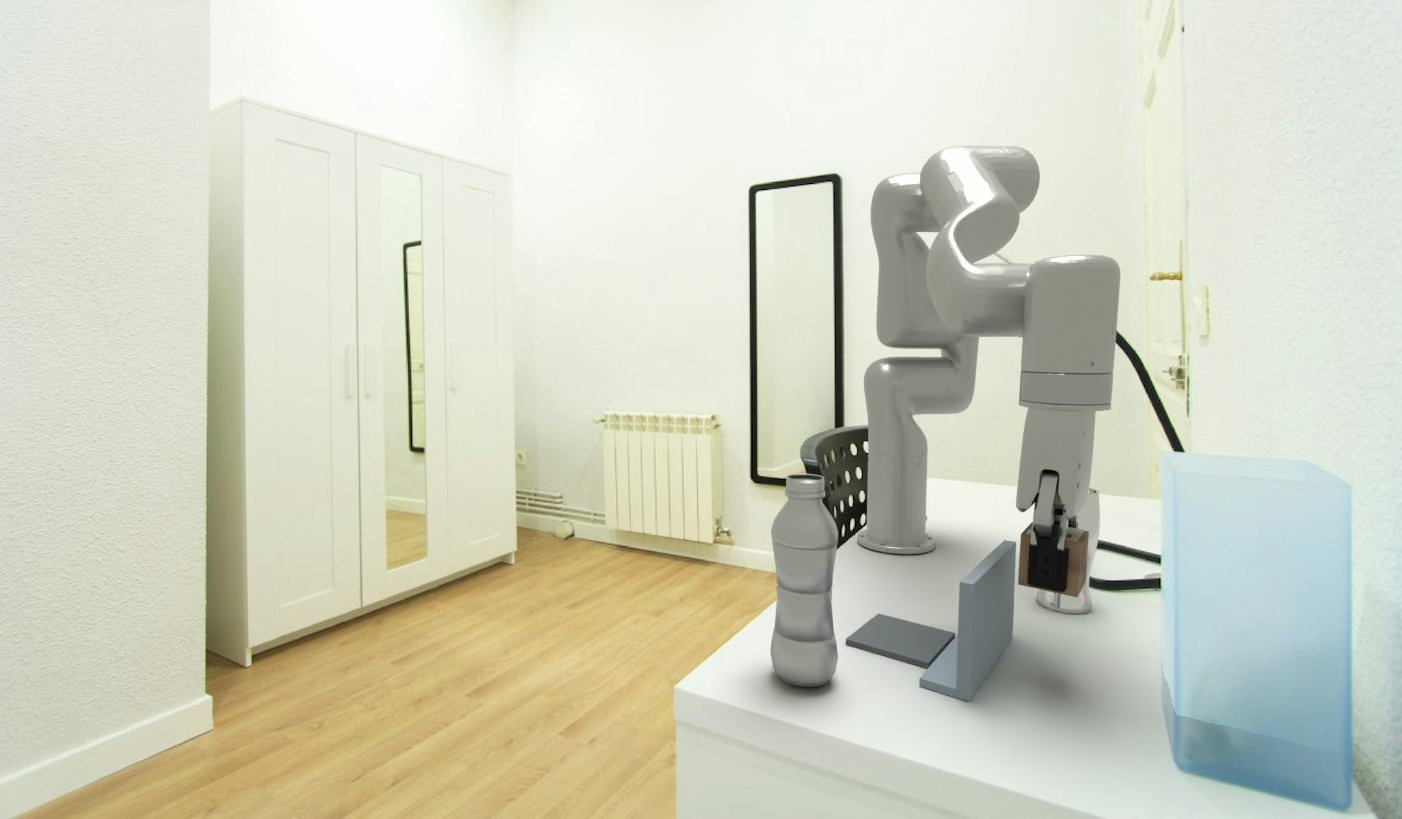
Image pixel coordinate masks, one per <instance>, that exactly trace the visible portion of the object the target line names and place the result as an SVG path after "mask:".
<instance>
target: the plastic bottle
mask: <svg viewBox="0 0 1402 819" xmlns="http://www.w3.org/2000/svg"><path fill="white" fill-rule="evenodd" d="M785 480H786V482H785V484H786V485H785V490H784V495H785V497H787V501H786V502H785V504H784V505H783V506H782V508H781V509H780V510H779V512H778V513H777V514H776V516H775V518H774V520H773V523H772V525H771V530H770V532H771V535H770V536H771V541H772V552H773V556H774V563H775V564H774V565H775V579H776V580H775V581H776V605H775V606H776V608H775V616H774V617H775V618H774V628H773V631H772V636H771V642H770V651H769V652H770V657H771V663H772V668H773V670H775V673H776V674H777V675H778V677H779V678H780V679H781V680H783V681H784V682H786V683H787V684H791V685H794V686H797V687H798V686H799V687H804V688H813V687H821V686H823V685H825V684H827V683H829V682H830V680H832V678H833V677H834V675H835V674H836V671H837V670H836V669H837V666H838V660H839V656H838V655H839V652H838V646H837V639H836V634H835V631H834V618H833V615H834V614H833V602H832V600H833V598H832V597H833V589H832V588H833V581H834V578H833V577H834V568H835V561H836V556H837V549H838V542H839V531H838V527H837V524H836V522H835V519H834V517H833V516H832V514H831V512H830V511H829V510H828V508H827V507H826V506H825V504H824V503H823V499H824V498H826V491H825V484H826V483H825V476H823V475H819V474H813V473H794V474H793V473H791V474H788V475H787V476H786V479H785Z"/></svg>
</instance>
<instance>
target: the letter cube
mask: <svg viewBox="0 0 1402 819" xmlns="http://www.w3.org/2000/svg"><path fill="white" fill-rule="evenodd" d="M1032 524H1033V521H1031V522H1030V523H1029V525H1028V526H1027V527H1026V528H1025V529H1024V530H1023V531H1022V533H1020V542H1019V543H1020V544H1019V558H1018V578H1017V579H1018V580H1017V585H1018V586H1023V587H1027V588H1032V589H1037V590H1039V589H1041V590H1045V591H1050V592H1054V593H1059V594H1063V595H1068V596H1073V597H1077V598H1078V596H1079V594H1080V592H1081V590H1082V588H1083V585H1084V583H1085V581H1086V568H1087V554H1088V540H1089V531H1084V529H1077V528H1071V527H1068V531H1067V540H1066V548H1065V549H1069V562H1068V577H1067V588H1066V590H1065V591H1064V592H1057V591H1053V590H1048V589H1044V588H1039V587H1034V586H1031V585H1029V584H1028V582H1027V577H1028V561H1029V544H1030V543H1031V533H1032ZM1057 527H1058V529H1059V528H1060V525H1057ZM1058 533H1059V531H1058Z"/></svg>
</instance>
